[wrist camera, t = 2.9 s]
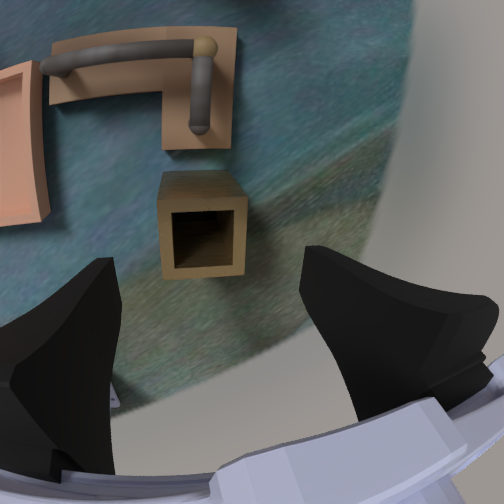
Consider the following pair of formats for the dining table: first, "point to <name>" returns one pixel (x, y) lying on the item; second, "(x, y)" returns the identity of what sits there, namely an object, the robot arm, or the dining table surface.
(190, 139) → the bent wire
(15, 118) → the dish
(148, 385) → the dining table surface
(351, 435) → the robot arm
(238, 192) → the hollow wooden box
